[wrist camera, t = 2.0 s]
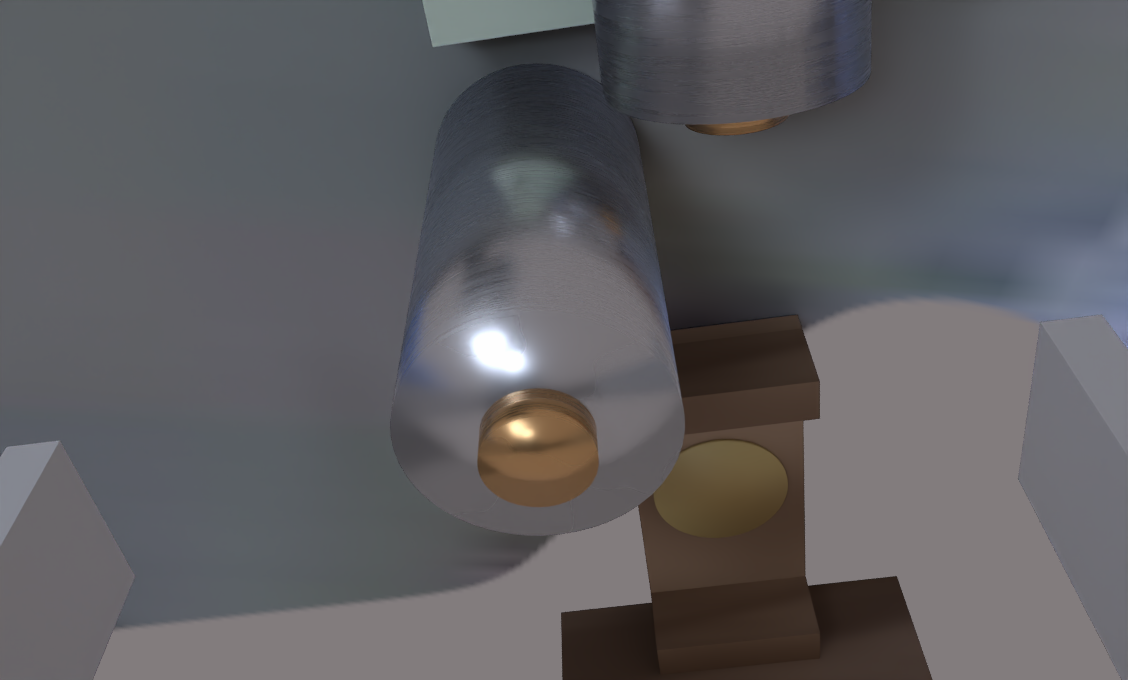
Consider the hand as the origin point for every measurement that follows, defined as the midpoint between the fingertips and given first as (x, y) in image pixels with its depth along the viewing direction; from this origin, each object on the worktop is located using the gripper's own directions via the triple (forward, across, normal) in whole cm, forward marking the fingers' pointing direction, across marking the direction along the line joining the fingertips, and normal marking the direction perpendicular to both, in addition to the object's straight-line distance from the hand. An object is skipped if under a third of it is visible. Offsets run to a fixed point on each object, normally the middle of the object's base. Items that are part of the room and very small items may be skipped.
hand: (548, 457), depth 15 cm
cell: (+8, 0, 0) cm, 8 cm away
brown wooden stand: (+8, +3, -8) cm, 12 cm away
